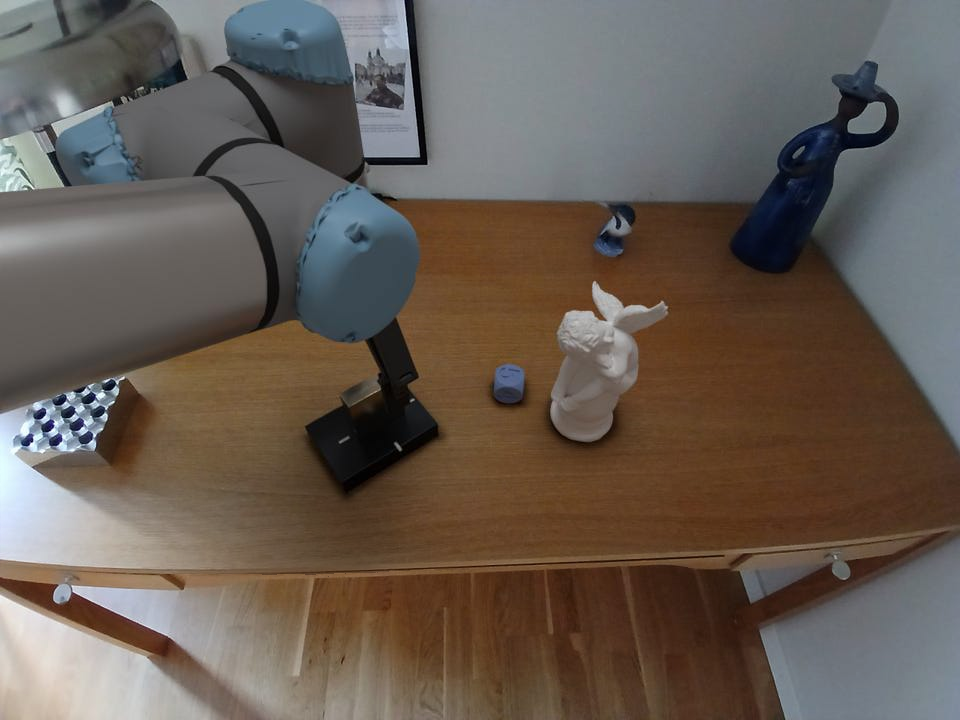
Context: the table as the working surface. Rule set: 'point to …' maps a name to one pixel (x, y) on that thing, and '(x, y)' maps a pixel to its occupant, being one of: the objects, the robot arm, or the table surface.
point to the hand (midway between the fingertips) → (366, 367)
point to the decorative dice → (509, 383)
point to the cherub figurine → (597, 364)
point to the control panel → (369, 443)
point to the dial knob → (366, 407)
